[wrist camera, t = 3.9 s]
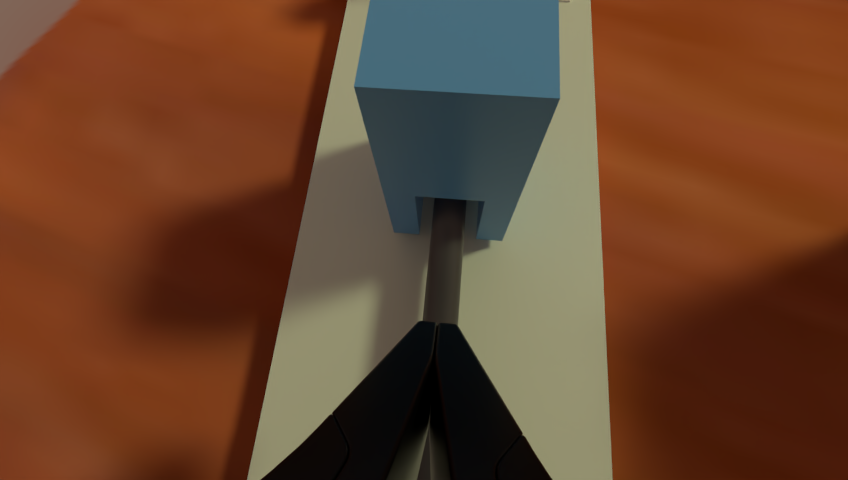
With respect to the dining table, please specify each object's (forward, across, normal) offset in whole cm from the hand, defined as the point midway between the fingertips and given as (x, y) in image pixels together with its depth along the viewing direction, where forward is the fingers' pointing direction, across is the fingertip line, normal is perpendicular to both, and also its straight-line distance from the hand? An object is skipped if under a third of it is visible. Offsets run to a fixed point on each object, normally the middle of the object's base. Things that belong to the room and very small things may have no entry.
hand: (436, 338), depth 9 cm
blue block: (+9, 0, -1) cm, 9 cm away
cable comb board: (+11, 0, 0) cm, 11 cm away
